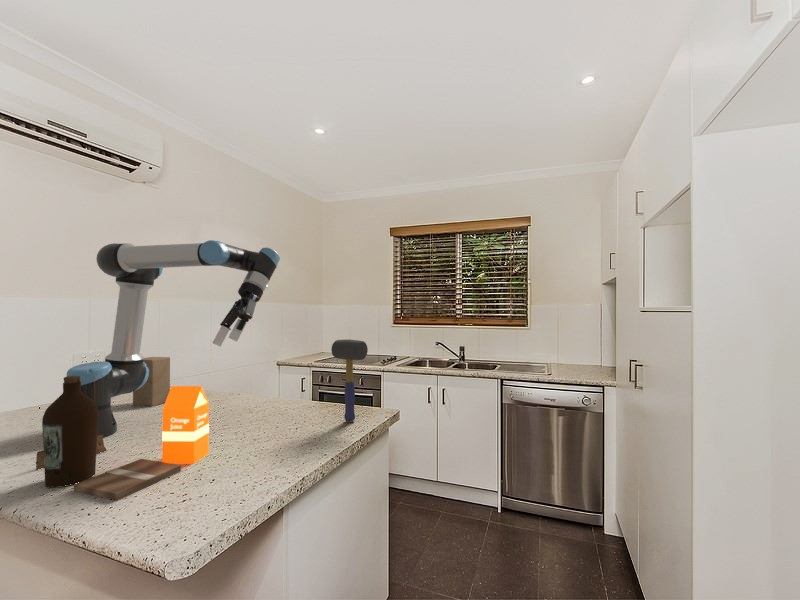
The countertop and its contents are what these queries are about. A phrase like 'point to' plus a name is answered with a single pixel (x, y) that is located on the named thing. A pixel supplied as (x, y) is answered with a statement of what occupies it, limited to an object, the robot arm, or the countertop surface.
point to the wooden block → (154, 383)
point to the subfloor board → (127, 479)
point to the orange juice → (185, 425)
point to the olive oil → (70, 436)
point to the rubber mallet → (349, 369)
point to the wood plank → (41, 453)
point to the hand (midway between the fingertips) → (224, 342)
